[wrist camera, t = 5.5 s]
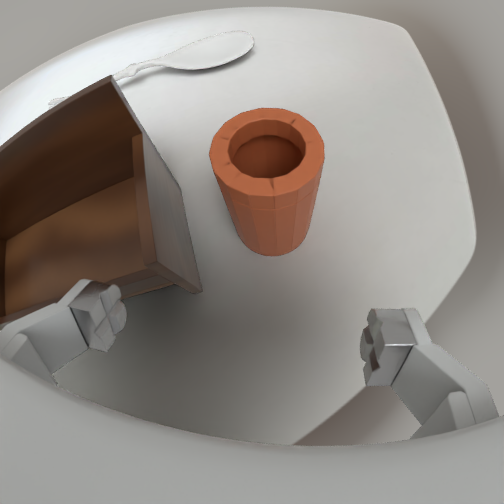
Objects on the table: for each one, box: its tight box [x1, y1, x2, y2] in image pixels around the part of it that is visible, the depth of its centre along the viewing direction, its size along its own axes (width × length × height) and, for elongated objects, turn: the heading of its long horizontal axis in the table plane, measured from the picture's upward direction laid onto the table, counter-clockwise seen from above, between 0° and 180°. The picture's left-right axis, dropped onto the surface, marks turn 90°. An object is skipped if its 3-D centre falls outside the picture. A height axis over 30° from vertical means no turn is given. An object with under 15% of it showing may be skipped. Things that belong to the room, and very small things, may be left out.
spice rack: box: [0, 75, 202, 330], centre depth 17 cm, size 10×20×14 cm, turn 106°
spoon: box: [48, 31, 254, 110], centre depth 30 cm, size 9×32×4 cm, turn 107°
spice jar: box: [209, 108, 324, 256], centre depth 19 cm, size 6×6×10 cm
